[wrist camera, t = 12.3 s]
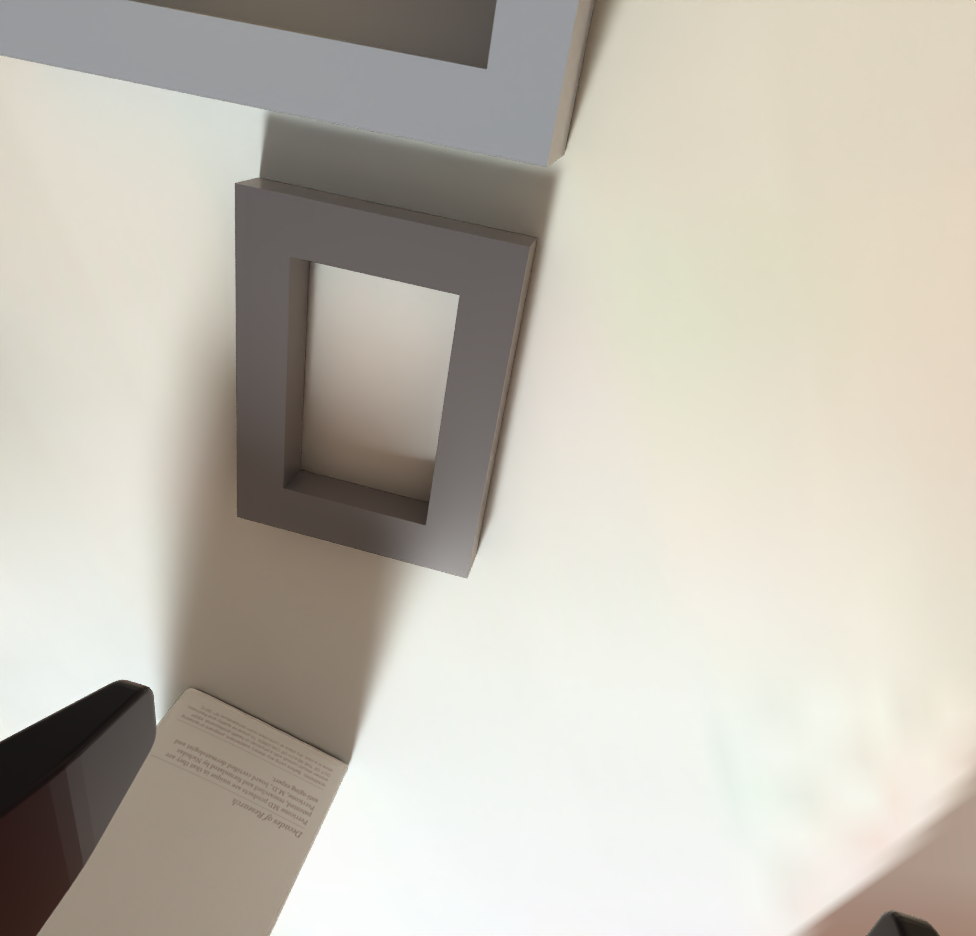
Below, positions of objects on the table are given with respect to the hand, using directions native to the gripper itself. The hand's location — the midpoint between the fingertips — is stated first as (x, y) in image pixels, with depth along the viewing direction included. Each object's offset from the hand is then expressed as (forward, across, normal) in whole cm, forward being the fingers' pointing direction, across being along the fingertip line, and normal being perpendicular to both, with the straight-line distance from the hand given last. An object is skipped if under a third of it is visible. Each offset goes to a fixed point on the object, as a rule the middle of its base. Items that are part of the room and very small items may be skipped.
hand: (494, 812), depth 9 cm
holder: (+13, +6, +1) cm, 14 cm away
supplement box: (+13, +10, +20) cm, 26 cm away
